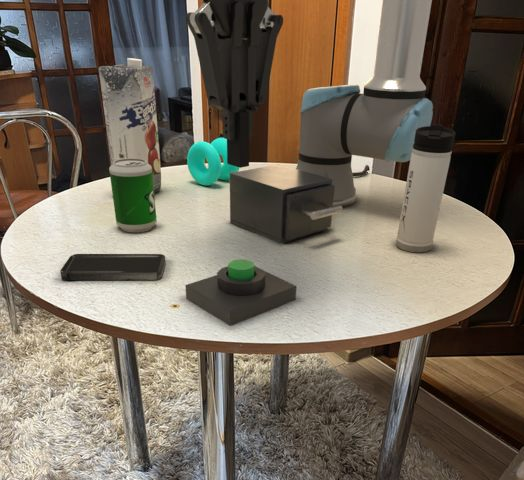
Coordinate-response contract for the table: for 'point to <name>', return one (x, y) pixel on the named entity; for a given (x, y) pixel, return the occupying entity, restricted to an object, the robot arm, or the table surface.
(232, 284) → the panel
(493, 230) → the table surface
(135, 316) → the table surface
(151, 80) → the juice carton
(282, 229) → the cabinet
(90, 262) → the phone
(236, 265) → the button
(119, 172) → the soda can
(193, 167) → the donuts
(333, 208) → the drawer
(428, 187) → the travel mug
